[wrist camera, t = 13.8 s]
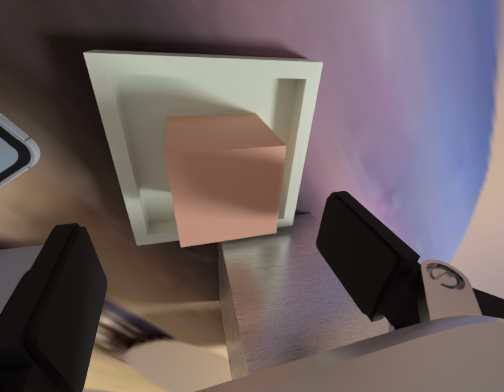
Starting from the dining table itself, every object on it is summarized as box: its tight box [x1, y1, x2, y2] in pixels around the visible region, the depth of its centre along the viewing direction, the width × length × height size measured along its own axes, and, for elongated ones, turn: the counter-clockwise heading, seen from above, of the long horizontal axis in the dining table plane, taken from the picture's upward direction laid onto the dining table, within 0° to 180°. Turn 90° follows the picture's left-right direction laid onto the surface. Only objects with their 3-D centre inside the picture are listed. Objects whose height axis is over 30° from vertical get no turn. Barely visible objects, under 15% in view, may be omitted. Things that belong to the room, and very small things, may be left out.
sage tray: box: [83, 50, 323, 246], centre depth 15 cm, size 11×11×2 cm
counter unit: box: [218, 213, 389, 380], centre depth 18 cm, size 8×10×13 cm
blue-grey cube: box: [0, 244, 44, 313], centre depth 16 cm, size 5×5×5 cm
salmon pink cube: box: [164, 113, 286, 247], centre depth 13 cm, size 5×5×5 cm
